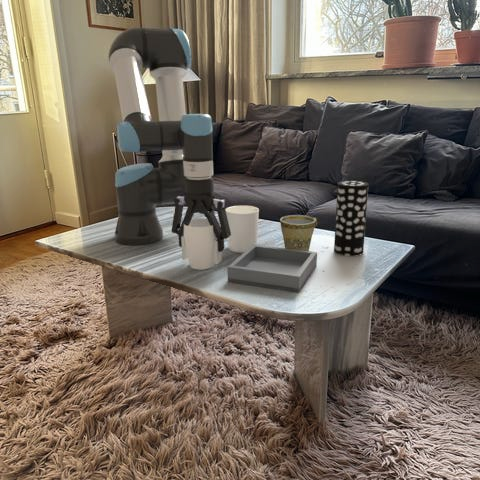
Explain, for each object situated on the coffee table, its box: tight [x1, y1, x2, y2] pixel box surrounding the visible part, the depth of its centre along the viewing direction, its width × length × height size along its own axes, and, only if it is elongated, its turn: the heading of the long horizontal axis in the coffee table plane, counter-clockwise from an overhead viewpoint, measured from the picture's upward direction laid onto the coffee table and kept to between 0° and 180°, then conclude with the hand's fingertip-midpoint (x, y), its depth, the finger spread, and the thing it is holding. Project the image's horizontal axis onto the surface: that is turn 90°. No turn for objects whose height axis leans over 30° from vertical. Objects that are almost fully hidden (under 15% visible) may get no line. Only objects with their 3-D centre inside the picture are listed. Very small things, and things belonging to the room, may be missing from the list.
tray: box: [227, 244, 318, 293], centre depth 116 cm, size 18×18×4 cm
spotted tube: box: [333, 180, 369, 257], centre depth 129 cm, size 8×8×20 cm
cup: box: [184, 217, 217, 271], centre depth 121 cm, size 9×9×12 cm
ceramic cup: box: [279, 214, 318, 251], centre depth 131 cm, size 13×10×10 cm
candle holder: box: [225, 205, 260, 254], centre depth 134 cm, size 10×10×12 cm
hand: (201, 260), depth 122 cm, fingers closed on cup, 9 cm apart
